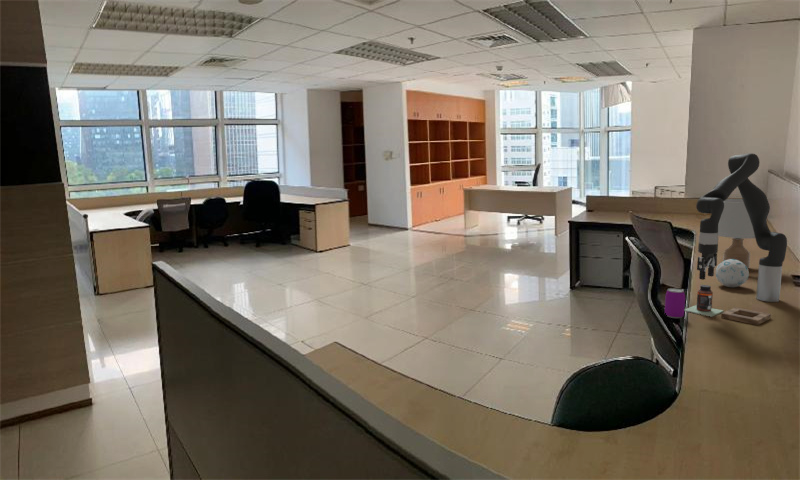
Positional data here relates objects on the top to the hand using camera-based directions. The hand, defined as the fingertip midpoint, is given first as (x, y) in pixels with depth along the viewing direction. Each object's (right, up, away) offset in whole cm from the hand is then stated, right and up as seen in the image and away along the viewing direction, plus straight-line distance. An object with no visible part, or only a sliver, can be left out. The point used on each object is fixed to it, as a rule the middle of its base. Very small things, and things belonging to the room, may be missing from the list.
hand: (706, 277), depth 236 cm
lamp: (+72, -1, +92) cm, 117 cm away
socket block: (+12, -17, -8) cm, 22 cm away
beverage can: (-16, -17, -3) cm, 24 cm away
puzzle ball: (+40, -8, +46) cm, 61 cm away
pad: (0, -16, +3) cm, 16 cm away
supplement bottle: (0, -15, +3) cm, 15 cm away
